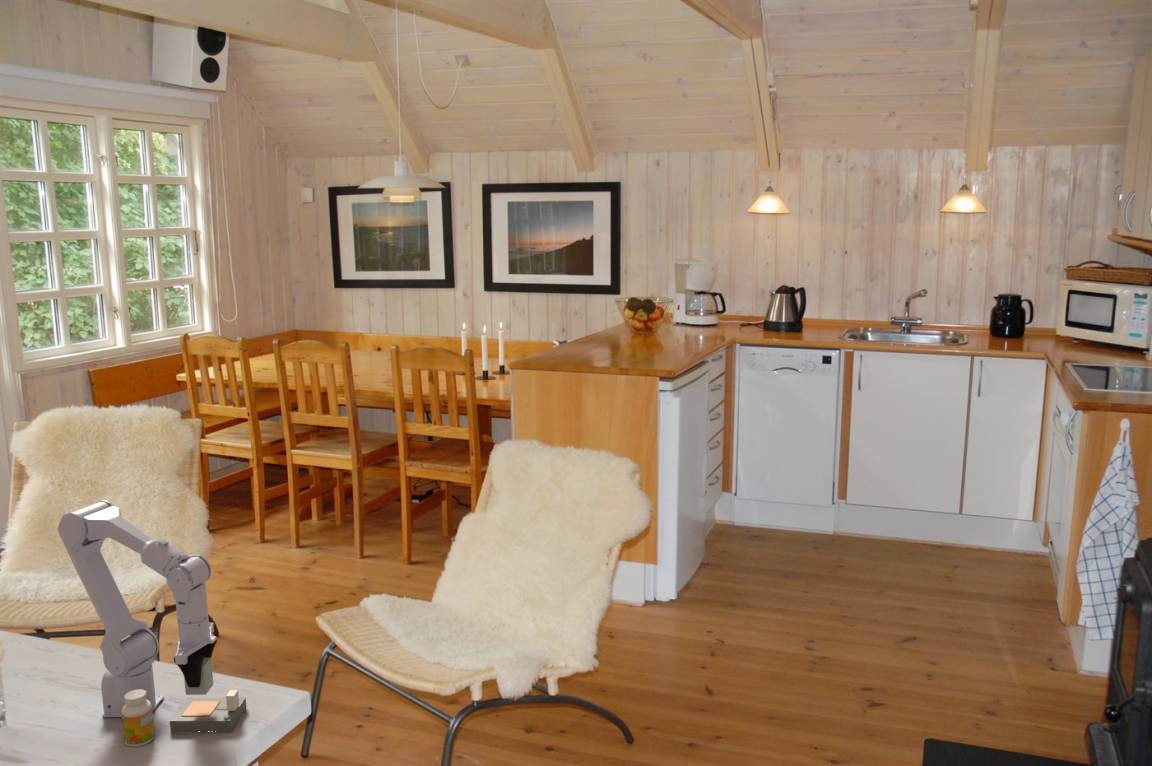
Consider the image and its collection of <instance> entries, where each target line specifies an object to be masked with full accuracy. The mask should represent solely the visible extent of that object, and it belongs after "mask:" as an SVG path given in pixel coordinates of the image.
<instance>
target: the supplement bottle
mask: <svg viewBox="0 0 1152 766" xmlns="http://www.w3.org/2000/svg"><path fill="white" fill-rule="evenodd" d="M124 702H125V705H124V706H123V708H122V717H121V718H122V728H123V738H124V739H123V740H124V743H125V745H126V746H127V747H128V746H129V747H135V748H137V747H141V746H145V745H147V744H149V743H150V742H152V741H153V740H154V738H155V736H156V735H155V723H154V715H153V714H154V713H153V711H152V704H151V702H150V701H149V700H147V693H146V691H145V690H143V689H137V690H132V691H130V692H128V693H126V694H125V696H124Z"/></svg>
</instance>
